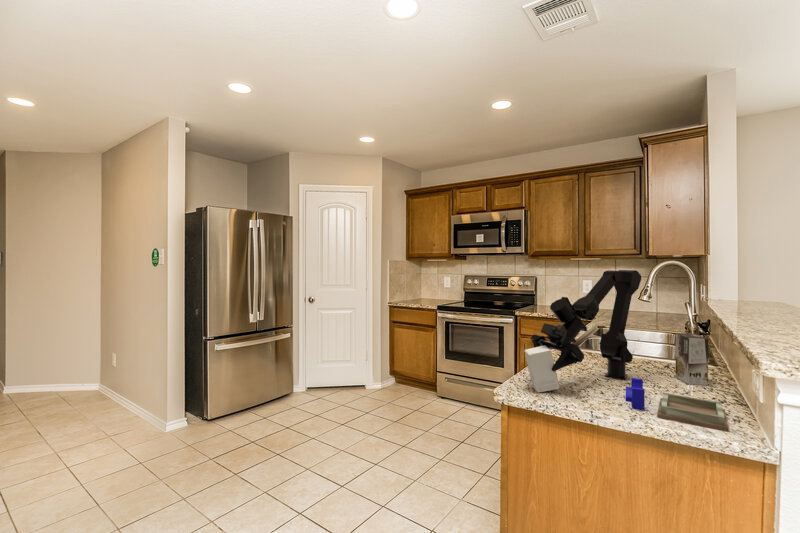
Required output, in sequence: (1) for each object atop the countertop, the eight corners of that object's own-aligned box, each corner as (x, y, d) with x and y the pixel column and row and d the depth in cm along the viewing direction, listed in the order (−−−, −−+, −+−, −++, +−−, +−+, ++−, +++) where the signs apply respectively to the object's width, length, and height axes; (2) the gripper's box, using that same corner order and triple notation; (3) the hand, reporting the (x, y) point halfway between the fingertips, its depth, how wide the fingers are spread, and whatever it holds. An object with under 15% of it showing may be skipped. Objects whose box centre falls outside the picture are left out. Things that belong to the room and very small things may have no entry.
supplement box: (560, 388, 127) (551, 350, 127) (537, 393, 127) (528, 354, 127) (554, 381, 134) (545, 344, 134) (531, 385, 135) (523, 349, 135)
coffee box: (708, 385, 136) (709, 338, 135) (687, 384, 137) (688, 337, 136) (694, 377, 145) (694, 333, 144) (674, 376, 146) (675, 332, 145)
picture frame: (660, 401, 120) (660, 391, 120) (724, 412, 112) (724, 402, 112) (657, 417, 108) (657, 406, 108) (728, 431, 100) (728, 419, 99)
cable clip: (625, 395, 126) (625, 377, 126) (642, 398, 124) (642, 379, 124) (626, 408, 115) (626, 387, 115) (644, 411, 113) (644, 390, 113)
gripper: (536, 311, 141) (509, 343, 136) (579, 319, 124) (550, 357, 119) (551, 332, 144) (526, 365, 140) (596, 343, 127) (568, 381, 123)
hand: (541, 366), depth 130 cm, fingers closed on supplement box, 9 cm apart
